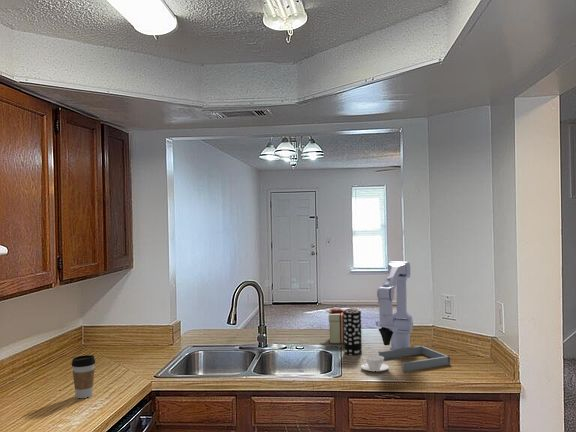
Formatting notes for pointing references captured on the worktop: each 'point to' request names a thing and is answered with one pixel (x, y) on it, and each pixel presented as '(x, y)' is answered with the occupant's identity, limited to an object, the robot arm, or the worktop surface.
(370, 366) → the teacup
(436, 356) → the cubby
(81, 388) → the coffee cup
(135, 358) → the worktop surface
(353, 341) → the spotted tube
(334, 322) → the gift box
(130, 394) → the worktop surface
